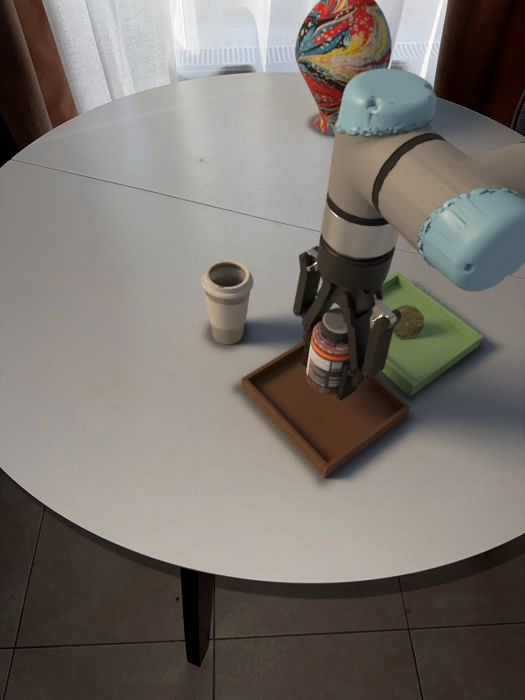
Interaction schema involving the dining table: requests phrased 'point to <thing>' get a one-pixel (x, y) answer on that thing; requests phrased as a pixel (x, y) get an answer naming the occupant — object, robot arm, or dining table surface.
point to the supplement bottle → (328, 353)
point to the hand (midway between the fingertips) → (328, 376)
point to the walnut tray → (322, 411)
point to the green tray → (424, 337)
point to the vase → (340, 51)
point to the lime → (409, 322)
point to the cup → (227, 298)
